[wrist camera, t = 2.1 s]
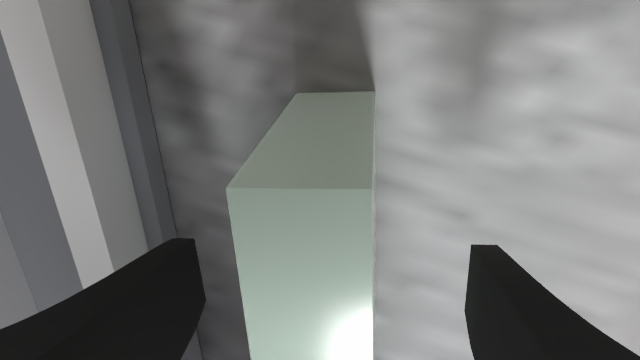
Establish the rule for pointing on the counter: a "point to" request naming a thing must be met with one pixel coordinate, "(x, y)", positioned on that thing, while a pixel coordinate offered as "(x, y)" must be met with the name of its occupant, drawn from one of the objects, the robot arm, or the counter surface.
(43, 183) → the rack
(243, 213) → the mint green upright block
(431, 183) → the counter surface
